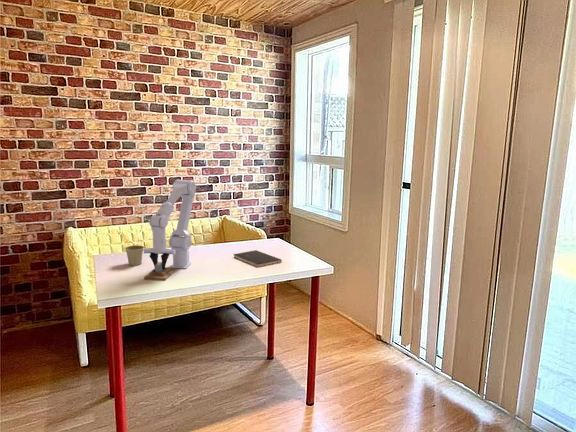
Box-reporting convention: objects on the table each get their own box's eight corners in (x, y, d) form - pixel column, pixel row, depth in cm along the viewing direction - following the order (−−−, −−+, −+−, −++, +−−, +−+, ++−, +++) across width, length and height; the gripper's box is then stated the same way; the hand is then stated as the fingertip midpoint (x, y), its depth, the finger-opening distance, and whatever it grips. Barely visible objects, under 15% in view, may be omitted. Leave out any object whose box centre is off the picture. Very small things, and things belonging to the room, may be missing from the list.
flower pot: (130, 267, 206) (129, 250, 204) (122, 263, 212) (121, 247, 210) (148, 264, 212) (147, 247, 211) (139, 260, 219) (138, 244, 217)
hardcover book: (257, 268, 212) (257, 264, 212) (233, 258, 229) (233, 254, 229) (281, 263, 222) (281, 259, 222) (256, 253, 240) (256, 250, 239)
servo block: (159, 271, 198) (158, 260, 197) (165, 271, 198) (164, 260, 197) (155, 274, 193) (154, 263, 192) (161, 274, 193) (161, 263, 192)
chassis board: (155, 270, 203) (155, 265, 202) (175, 271, 202) (175, 266, 202) (144, 279, 189) (143, 274, 188) (165, 280, 188) (165, 275, 188)
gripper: (140, 241, 189) (141, 270, 191) (171, 243, 188) (172, 271, 191) (146, 238, 196) (147, 266, 198) (176, 239, 195) (177, 267, 197)
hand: (159, 268), depth 195 cm, fingers closed on servo block, 3 cm apart
